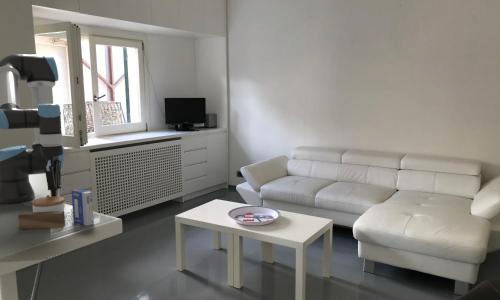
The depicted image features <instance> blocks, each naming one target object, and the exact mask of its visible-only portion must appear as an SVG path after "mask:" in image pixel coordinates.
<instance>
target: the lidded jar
mask: <svg viewBox="0 0 500 300" xmlns="http://www.w3.org/2000/svg"><path fill="white" fill-rule="evenodd" d="M65 200H66V199H65V197H62V196H60V197H57V196H53V197H51V194H48V195H46V196H45V197H44V196H43V197H39V198H34V199H32V201H31V205H32V212H53V211H64V212H65V207H66V206H65Z"/></svg>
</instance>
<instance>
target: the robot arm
mask: <svg viewBox="0 0 500 300" xmlns="http://www.w3.org/2000/svg"><path fill="white" fill-rule="evenodd" d="M20 81H26V85H27V86H28V87H29V88H30V90H31V91H30V92H31V103H32V108H21V99H20V90H19V89H20V88H19V82H20ZM58 81H59V71H58V66H57V62H56V60H55V58H54V57H53V56H52V55H46V54H24V53H12V54H9V55H6V56H5V57H3V58H1V59H0V130H18V129H19V130H21V129H33V130H34V139H35V140H34V141H33V143H32V144H31V148H28V147H27V145H17V146H16V145H15V146H10V147H6V148H5V147H4V148H2V149H0V204H1V205H2V204H3V205H4V204H6V205H7V204H8V205H9V204H17V203H24V202H28V201H31V200H32V201H33V200H35V199H36V197H35V195H36V194H35V191H34V188H33V186H32V184H31V182H30V176H31V175H43V174H45V178H46V184H47V191H50V197H53V196H57V197H61V196H60V189H62V186H61V184H62V182H61V181H62V179H61V177H62V174H61V173H62V171H63V169H64V167H65V156H66V155H65V147H64V146H63V144H64V143H63V142H64V141H63V131H62V118H61V116H62V112H61V107H60V104H58V103H54V96H53V95H54V92H53V88H54V86H56V82H58Z"/></svg>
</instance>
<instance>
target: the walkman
mask: <svg viewBox="0 0 500 300" xmlns="http://www.w3.org/2000/svg"><path fill="white" fill-rule="evenodd" d="M71 201H72V203H71V204H72V215H73V216H72V219H73V223H75V224H79V225H83V226H86V227H87V226H91V225H94V224H95V221H94V220H95V218H94V217H95V215H94V204H93V202H94V201H93V192H92V191H89V190H82V189H79V188H78V189H73V190H71Z"/></svg>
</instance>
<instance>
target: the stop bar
mask: <svg viewBox="0 0 500 300" xmlns="http://www.w3.org/2000/svg"><path fill="white" fill-rule="evenodd" d="M17 216H18V229H19V230H21V231H22V230H35V229H37V230H38V229H56V228H57V229H58V228H64V226H66V214H65V210H64V211H53V212H33V211H32V212H20V214H18V215H17Z"/></svg>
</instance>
